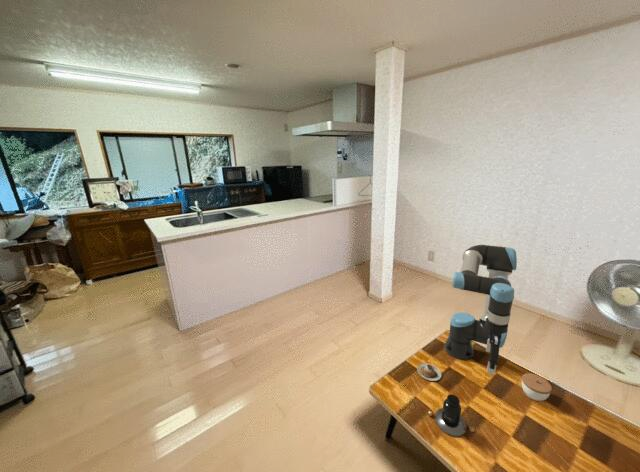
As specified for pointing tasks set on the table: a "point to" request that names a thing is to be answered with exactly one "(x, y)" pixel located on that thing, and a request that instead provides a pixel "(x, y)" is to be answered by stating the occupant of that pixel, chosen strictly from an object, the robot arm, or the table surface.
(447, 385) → the table surface
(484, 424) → the table surface
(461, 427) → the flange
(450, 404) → the supplement bottle
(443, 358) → the table surface
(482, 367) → the table surface
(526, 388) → the lidded jar
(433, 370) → the grey ring with stone
